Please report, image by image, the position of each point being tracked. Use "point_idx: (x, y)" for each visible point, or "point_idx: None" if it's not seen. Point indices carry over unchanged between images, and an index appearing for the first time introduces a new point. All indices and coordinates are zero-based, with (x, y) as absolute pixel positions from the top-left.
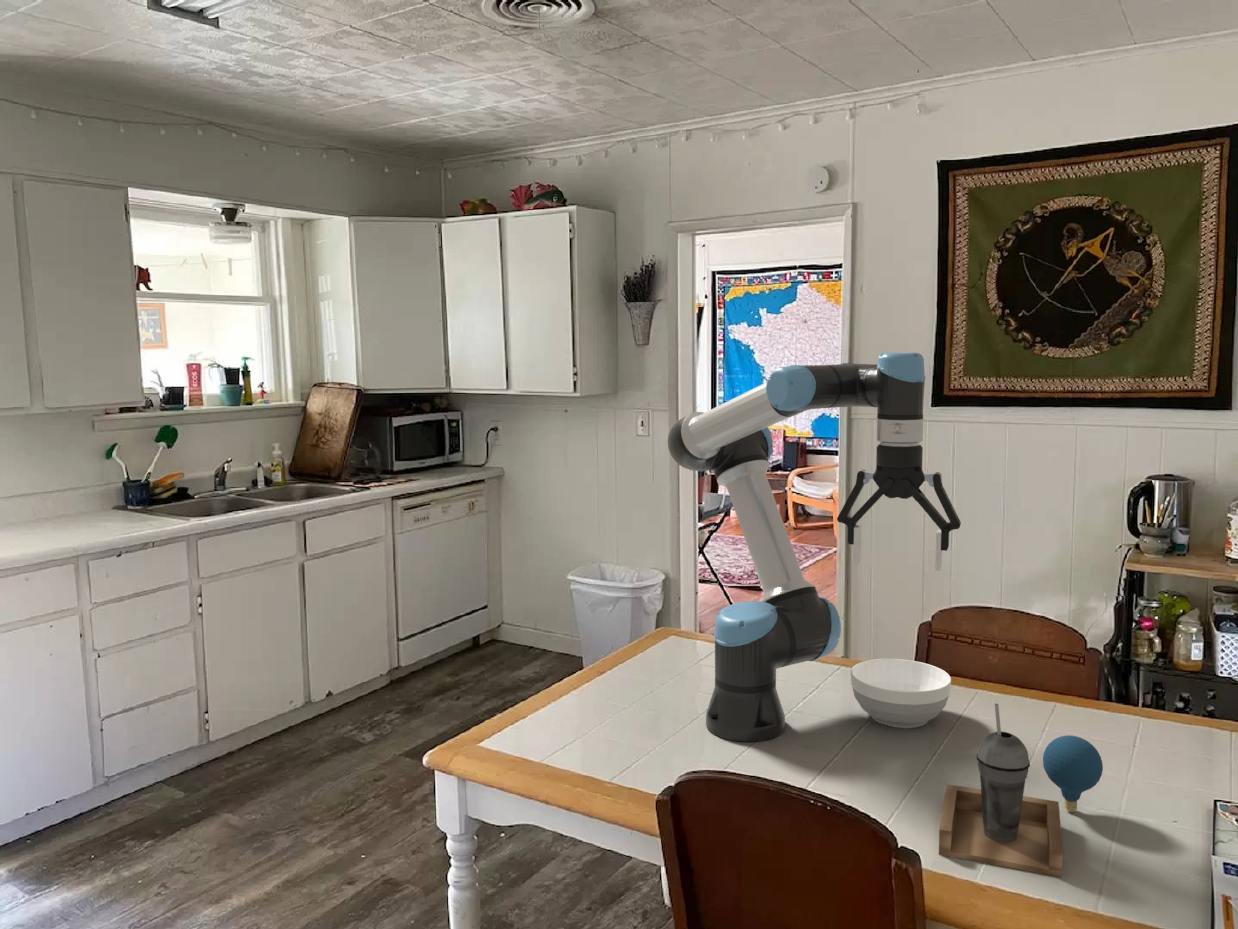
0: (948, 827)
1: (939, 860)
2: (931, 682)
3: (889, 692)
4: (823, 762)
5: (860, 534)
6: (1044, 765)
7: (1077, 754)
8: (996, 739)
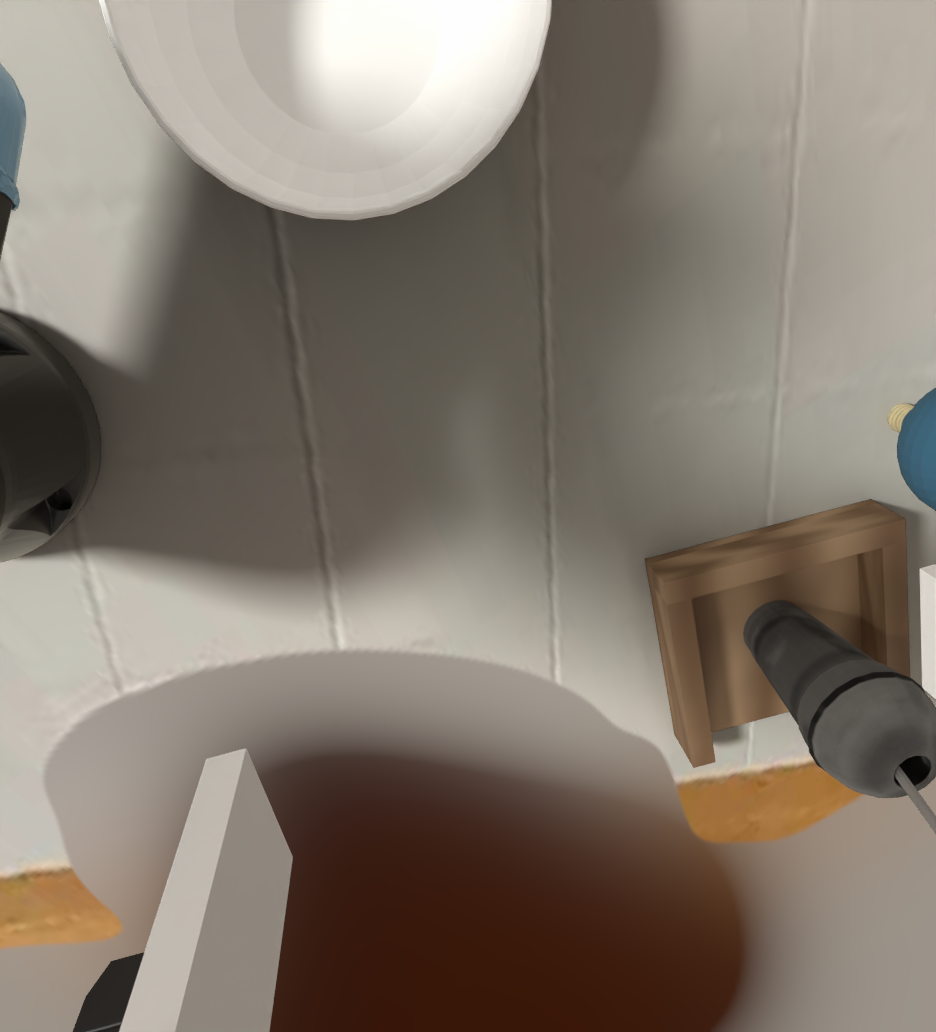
0: (708, 752)
1: (679, 749)
2: None
3: (371, 217)
4: (303, 517)
5: (189, 1001)
6: (909, 482)
7: None
8: (892, 793)
